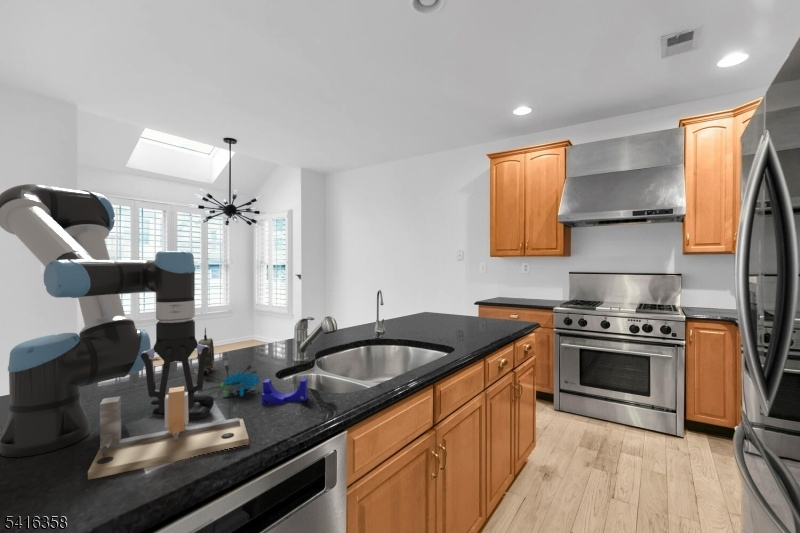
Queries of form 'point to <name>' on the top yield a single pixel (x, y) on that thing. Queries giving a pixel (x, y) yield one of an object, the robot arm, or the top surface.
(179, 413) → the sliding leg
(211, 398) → the can opener
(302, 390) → the cable clip
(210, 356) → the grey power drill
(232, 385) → the gear
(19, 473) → the top surface
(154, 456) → the plate
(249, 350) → the top surface
